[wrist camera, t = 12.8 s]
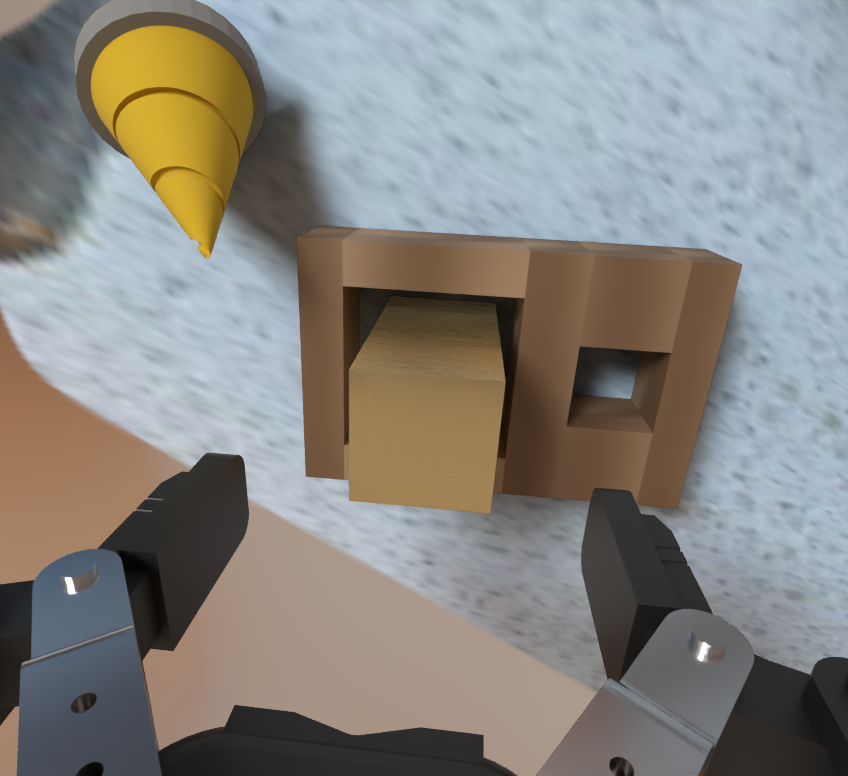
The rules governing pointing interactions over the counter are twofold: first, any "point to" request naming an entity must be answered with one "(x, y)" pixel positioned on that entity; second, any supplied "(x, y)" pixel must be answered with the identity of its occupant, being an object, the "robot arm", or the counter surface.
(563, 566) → the counter surface
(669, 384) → the bore block
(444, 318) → the tan square peg
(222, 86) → the drill bit
